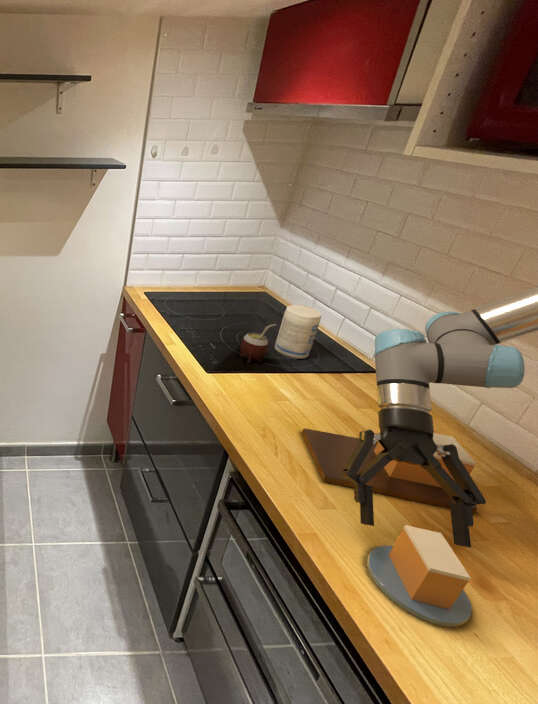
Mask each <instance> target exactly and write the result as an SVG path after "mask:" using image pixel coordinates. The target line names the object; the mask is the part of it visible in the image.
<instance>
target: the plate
mask: <svg viewBox="0 0 538 704" xmlns="http://www.w3.org/2000/svg"><path fill="white" fill-rule="evenodd" d="M393 546H394V545H379V546H376V547H374V548H373V549H372V550H371V551H370V553H369V554H368V556H367V559H366V566H367V570H368V573H369V575H370V577H371V578H372V580H373V582H374V583H375V584H376V586H377V587H378V588H379V589H380V590H381V592H383V593H384V595H385V596H387V597H388V598H389V600H391V601H392V602H394V603H395V604H396V605H397V606H399V607H400V608H401V609H403V610H404V611H406V612H408V614H411V615H413V616H414V617H416V618H418V619H421V620H423V621H425V622H427V623H431V624H433V625H437V626H441V627H448V628H454V627H460V626H463V625H465V624H466V623H467V622H468V621H469V619H470V618H471V616H472V612H473V607H472V604H471V603H472V602H471V600H470V598H469V596H468V594H467V593H466V591H465V590H464V589H463V590H462V592H461V593H460V595H459V596H458V598H457V599H456V601H455V602H454V604H453V605H452V606H451V608H450V609H446V608H442V607H438V606H435V605H431V604H427V603H423V602H419V601H415V600H412V599H411V598H410V596H409V594H408V592H407V590H406V588H405V586H404V584H403V582H402V580H401V578H400V576H399V574H398V572H397V571H396V569H395V567H394V565H393V563H392V561H391V559H390V557H389V553H390V552H391V550H392V548H393Z"/></svg>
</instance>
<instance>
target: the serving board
mask: <svg viewBox="0 0 538 704" xmlns="http://www.w3.org/2000/svg"><path fill="white" fill-rule="evenodd" d="M301 435H302V437H303V439H304V442H305V444H306V447H307V449H308V450H309V453H310V455H311V458H312V459H313V462H314V464H315V466H316V468H317V471H318V474H319V475H320V477H321V480H322V482H325V483H329V484H334V485H338V486H343V487H348V488H352V489H354V484H353V483H351V481H350V480H348V479H347V478H343V477H342V476H341V472H342V470H343V468H344V467H345V465H346V463H347V462H348V460H349V458H350V457H351V455H352V453H353V451H354V450H355V448H356V446H357V445H358V443H359V437H354V436H348V435H343V434H337V433H332V432H328V431H327V432H326V431H321V430H317V429H316V430H315V429H310V428H305V427H303V428H302V431H301ZM377 443H378V441H377V442H376V443H375V444H373V446H372V448H371V449H370V451H369V453H368V455H367V456H366V458H365V460H364V462H363V463H362V465H361V467H360V468H359V470H358V472H357V474H358V473H359V472H360V471H361V470H362V469H363V468H364V467H365V466H367V465H368V464H369V463H370V462H371V461H372V460H373V459H374V458H375V457H377V456H376V454H375V452H374V450H375V448H376V445H377ZM366 485H368V486H372V492H373V493H377V494H381V495H386V496H389V497H395V498H400V499H404V500H408V501H409V500H410V501H415V502H419V503H424V504H427V505H433V506H438V507H441V508H442V507H443V508H447V509H450V504H456V503H455V502H454V500H453V499H452V498H451V497H450V496H449V495H448V494H447V493H446V492H445V490H444V489H443V488H442V487H437V486H432V485H427V484H422V483H417V482H412V481H407V480H402V479H397V478H392V477H390V476H389V475H388V473H387V471H386V470H385V468H383V469H381V470H380V471H379V472H378V473H377V474H376V475H375V476H374V477H373V478H372V479H370V480H369V481H368V482H367V483H366ZM478 509H479V507H478V505H476V506H473V507H472V512H473V514H476V512H477V511H478Z"/></svg>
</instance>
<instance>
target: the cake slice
mask: <svg viewBox="0 0 538 704" xmlns="http://www.w3.org/2000/svg"><path fill="white" fill-rule="evenodd" d="M392 546H393V548H392V550H391V552H390V553H389V557H390V559H391V561H392V563H393V565H394V567H395V569H396V571H397V572H398V574H399V576H400V578H401V580H402V582H403V584H404V586H405V588H406V590H407V592H408V594H409V596H410V598H411V599H412V600H415V601H419V602H423V603H427V604H431V605H435V606H438V607H442V608H446V609H450V608H451V606H452V605H453V604H454V602H455V601H456V599H457V598H458V596H459V595H460V593H461V592H462V590H464V589H465V588H466V586H467V585H468V583H469V582H470V581H471V579H472V577H471V576H470V574H469V573H468V571H467V570H466V568H465V567H464V565H463V563H462V562H461V560H460V559H459V557H458V556H457V555H456V553H455V551H454V550H453V549H452V547H451V546H450V544H449V543H448V541H447V539H446V537H444V535H443V534H442V532H440V531H439V532H438V531H434V530H429V529H425V528H420V527H415V526H411V525H407V524H404V526H403V528H402V530H401V531H400V533H399V535H398V537H397V539H396V541H395V543H394V544H393V545H392Z"/></svg>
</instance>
